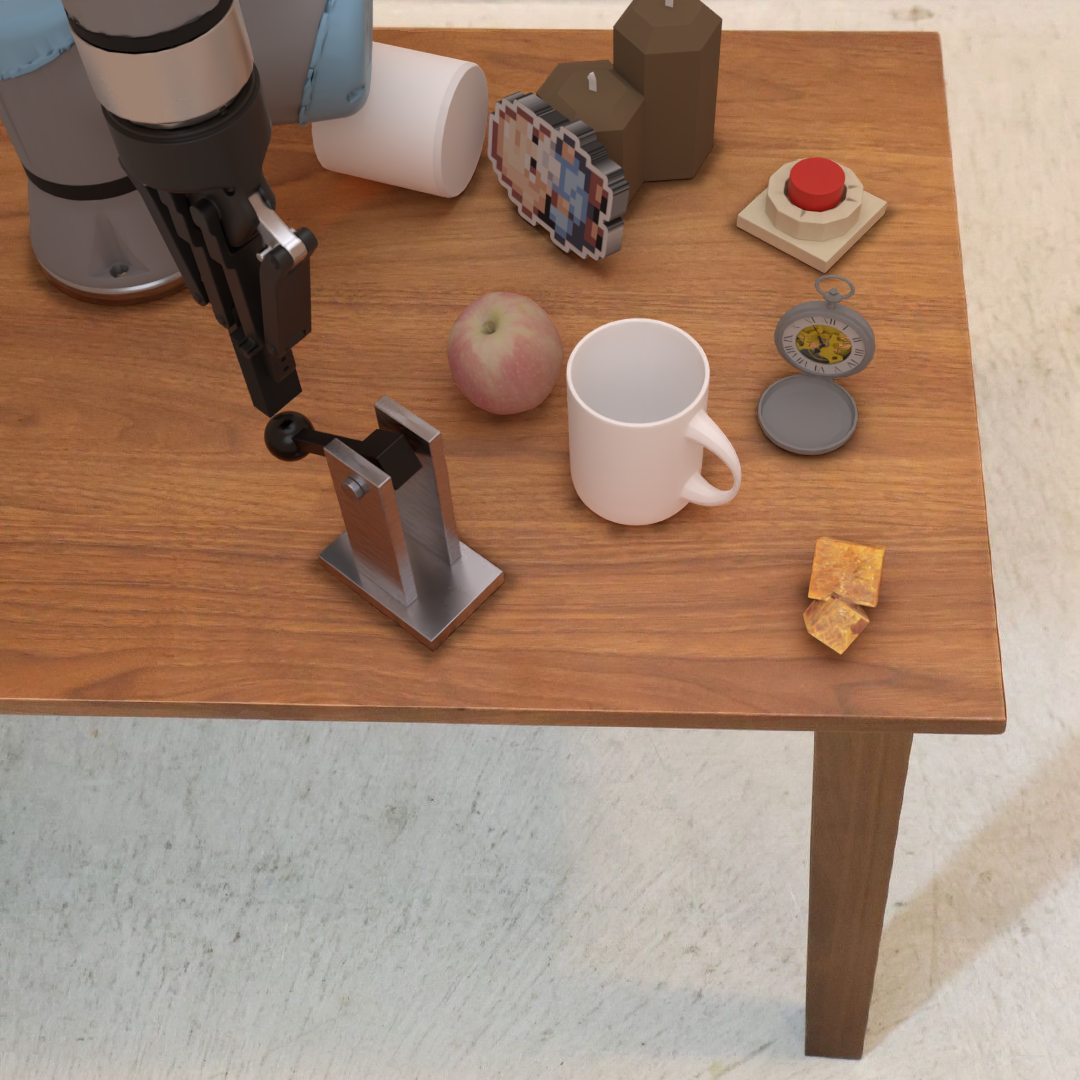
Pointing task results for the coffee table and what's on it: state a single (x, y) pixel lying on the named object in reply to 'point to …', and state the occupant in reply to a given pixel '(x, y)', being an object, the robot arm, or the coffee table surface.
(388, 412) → the bracket
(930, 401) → the coffee table surface
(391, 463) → the lever
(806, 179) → the button
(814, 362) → the pocket watch
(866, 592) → the pyrite
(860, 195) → the housing
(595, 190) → the toy
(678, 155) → the candle
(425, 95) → the white cylinder
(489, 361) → the apple
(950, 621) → the coffee table surface
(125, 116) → the robot arm
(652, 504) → the mug
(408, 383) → the coffee table surface
